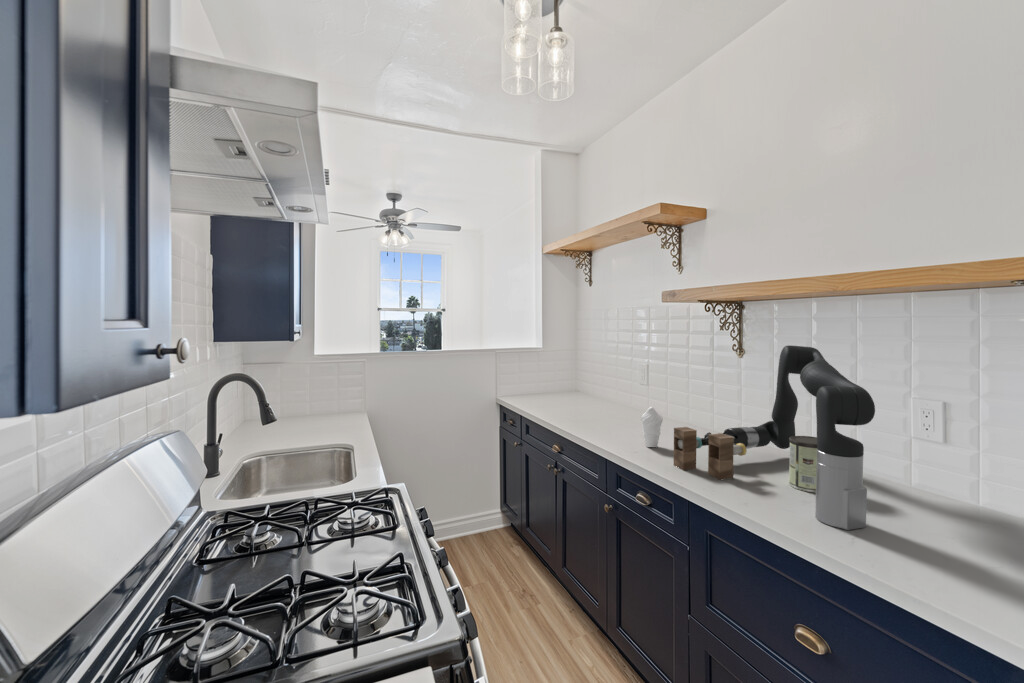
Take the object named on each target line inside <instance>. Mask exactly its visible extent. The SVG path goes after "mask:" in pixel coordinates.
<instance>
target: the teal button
mask: <svg viewBox="0 0 1024 683" xmlns="http://www.w3.org/2000/svg"><path fill="white" fill-rule="evenodd" d="M700 438H701V437H699V436H697V437H696V449H701V448H702V447H703V446H702V441H701V439H700ZM678 446H679V448H680V449H683V440H682V439H681V440H678Z"/></svg>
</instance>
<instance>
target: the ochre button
mask: <svg viewBox="0 0 1024 683" xmlns="http://www.w3.org/2000/svg"><path fill="white" fill-rule="evenodd" d="M747 450H748V449H746V447H745V445H744V444H742V443H738V444H736V445H734V447H733V456H737V455H738V456H746V454H747Z"/></svg>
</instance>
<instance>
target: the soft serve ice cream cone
mask: <svg viewBox="0 0 1024 683" xmlns="http://www.w3.org/2000/svg"><path fill="white" fill-rule="evenodd" d="M640 421H641V425H642V434H643V439H644V443H645V444H644V445H645V447H646V446H647V447H646V448H648V447H656V448H658V445H659V440H660V436H661V427H662V424H663V421H664V418H663V416H662V414H661V413H659V412H658V411H657V410H656V409H655V408H654V407H653V406H650V407H648V408H647V409H646V411H645V412H644V413H643V414H642V415H640Z"/></svg>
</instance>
